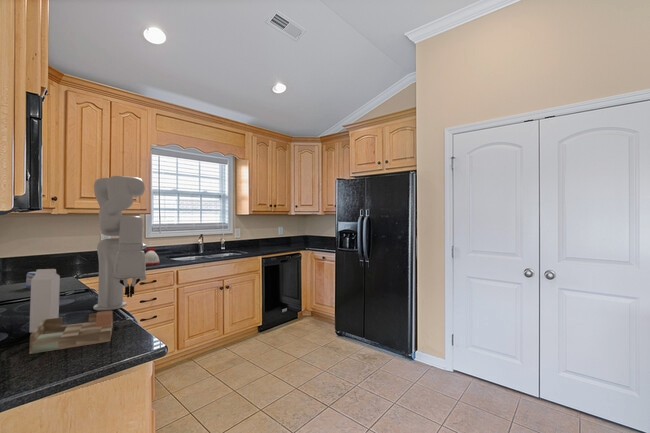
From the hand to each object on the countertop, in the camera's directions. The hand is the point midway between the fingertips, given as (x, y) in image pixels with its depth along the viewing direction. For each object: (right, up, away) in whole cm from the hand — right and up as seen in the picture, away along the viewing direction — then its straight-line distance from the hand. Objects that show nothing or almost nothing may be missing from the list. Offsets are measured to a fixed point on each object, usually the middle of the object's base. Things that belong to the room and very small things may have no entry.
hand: (129, 296), depth 116 cm
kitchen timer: (-81, -12, +156) cm, 176 cm away
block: (-7, -9, -4) cm, 12 cm away
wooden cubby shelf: (-11, -11, -11) cm, 19 cm away
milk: (-29, -11, -4) cm, 31 cm away
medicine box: (-91, -11, +59) cm, 109 cm away
